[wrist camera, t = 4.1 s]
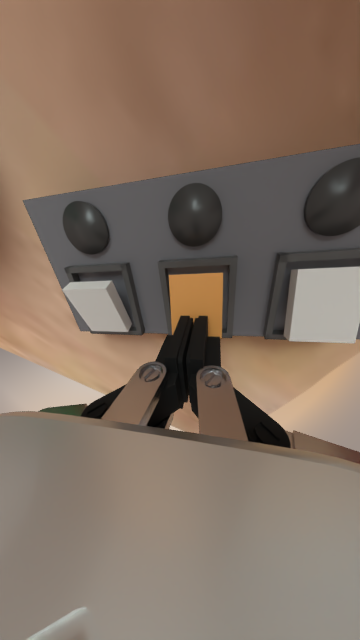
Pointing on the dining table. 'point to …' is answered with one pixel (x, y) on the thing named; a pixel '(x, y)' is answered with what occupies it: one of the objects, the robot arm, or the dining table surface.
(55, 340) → the dining table surface
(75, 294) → the rocker
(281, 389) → the dining table surface
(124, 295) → the rocker switch panel
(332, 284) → the rocker
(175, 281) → the middle rocker
